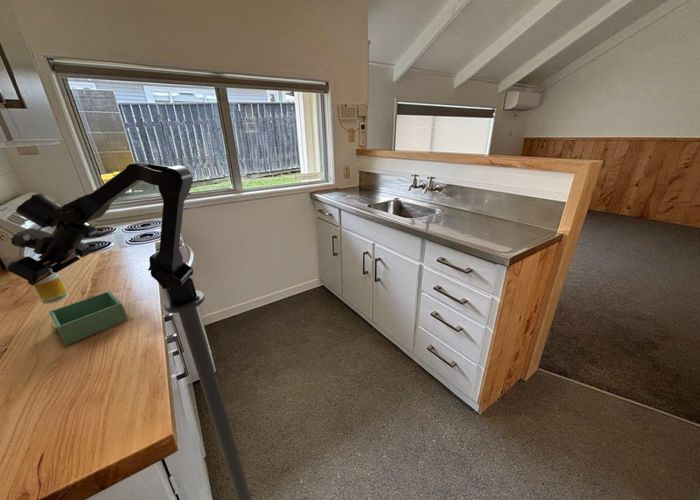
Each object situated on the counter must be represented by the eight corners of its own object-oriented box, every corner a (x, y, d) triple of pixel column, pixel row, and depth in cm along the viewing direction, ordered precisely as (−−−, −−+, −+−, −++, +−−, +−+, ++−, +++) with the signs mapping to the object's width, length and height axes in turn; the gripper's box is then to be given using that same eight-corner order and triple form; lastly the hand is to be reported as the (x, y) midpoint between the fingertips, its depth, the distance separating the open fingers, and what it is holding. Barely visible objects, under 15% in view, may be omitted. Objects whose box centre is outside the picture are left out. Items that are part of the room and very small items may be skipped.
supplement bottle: (71, 297, 81) (56, 266, 77) (46, 306, 76) (28, 274, 73) (65, 292, 83) (50, 263, 80) (40, 301, 79) (23, 270, 76)
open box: (115, 306, 82) (109, 290, 80) (128, 319, 75) (121, 303, 73) (57, 328, 73) (48, 311, 71) (65, 345, 66) (56, 328, 64)
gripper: (62, 210, 80) (38, 249, 83) (-6, 230, 63) (-34, 278, 66) (102, 234, 84) (78, 270, 87) (48, 259, 67) (20, 303, 70)
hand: (40, 279), depth 77 cm, fingers closed on supplement bottle, 5 cm apart
